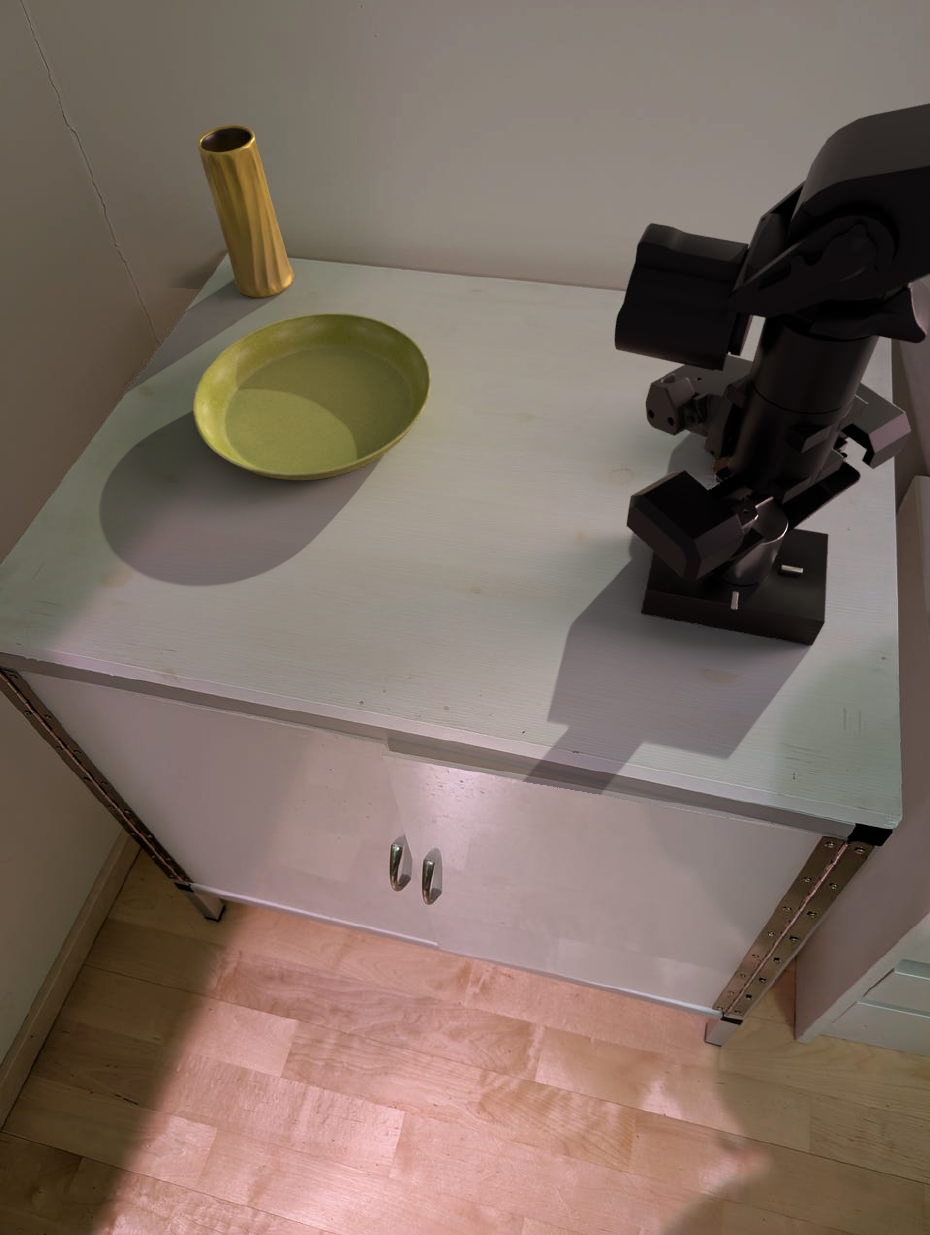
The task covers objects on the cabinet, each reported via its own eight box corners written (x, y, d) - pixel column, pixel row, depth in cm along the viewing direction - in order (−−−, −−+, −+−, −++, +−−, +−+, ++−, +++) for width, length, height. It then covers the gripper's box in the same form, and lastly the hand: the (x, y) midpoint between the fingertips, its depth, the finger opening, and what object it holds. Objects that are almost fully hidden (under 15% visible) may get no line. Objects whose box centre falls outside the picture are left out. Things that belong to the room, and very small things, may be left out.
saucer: (288, 320, 83) (281, 291, 80) (474, 375, 77) (472, 346, 74) (155, 455, 73) (142, 427, 70) (356, 532, 67) (349, 504, 64)
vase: (224, 291, 86) (178, 149, 75) (256, 259, 89) (216, 117, 78) (274, 303, 85) (235, 160, 73) (305, 270, 88) (272, 127, 76)
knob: (784, 565, 59) (803, 520, 55) (738, 595, 58) (755, 551, 54) (739, 527, 61) (754, 481, 57) (694, 555, 60) (706, 510, 56)
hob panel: (816, 556, 63) (829, 529, 60) (812, 650, 58) (825, 624, 56) (656, 529, 65) (662, 501, 63) (639, 617, 61) (645, 591, 58)
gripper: (812, 252, 53) (754, 436, 66) (578, 370, 47) (565, 545, 60) (962, 341, 47) (867, 523, 60) (716, 486, 42) (669, 651, 55)
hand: (740, 556), depth 59 cm, fingers closed on knob, 4 cm apart
